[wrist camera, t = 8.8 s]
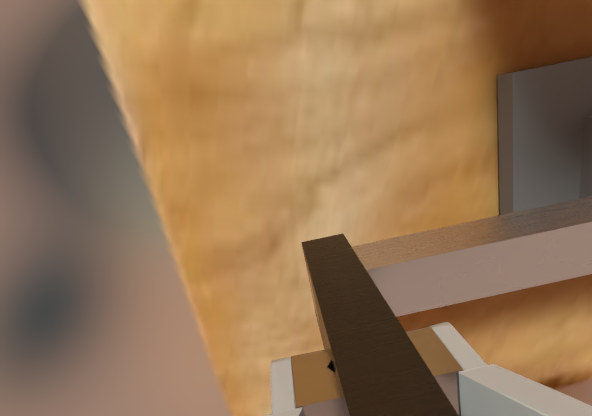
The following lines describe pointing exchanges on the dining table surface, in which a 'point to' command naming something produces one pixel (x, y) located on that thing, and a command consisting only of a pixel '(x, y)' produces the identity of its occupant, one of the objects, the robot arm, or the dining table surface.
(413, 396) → the shaft
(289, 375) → the robot arm
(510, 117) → the bearing stand
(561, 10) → the dining table surface
